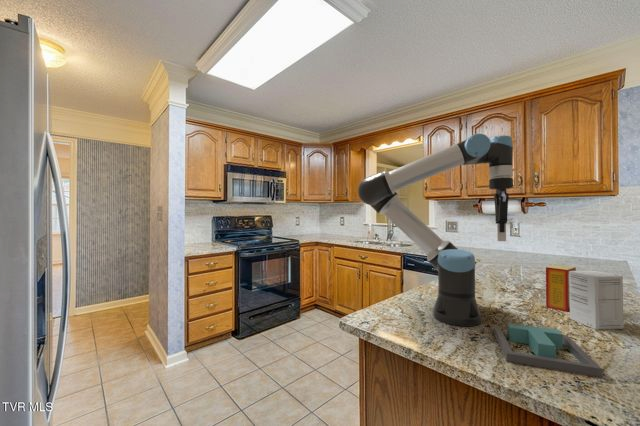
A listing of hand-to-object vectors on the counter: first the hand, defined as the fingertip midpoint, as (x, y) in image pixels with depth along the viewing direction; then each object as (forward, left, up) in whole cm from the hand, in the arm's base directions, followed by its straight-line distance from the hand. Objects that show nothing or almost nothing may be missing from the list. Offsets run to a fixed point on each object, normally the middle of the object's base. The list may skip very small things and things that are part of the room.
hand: (501, 240), depth 105 cm
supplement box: (+26, -2, -27) cm, 37 cm away
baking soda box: (+22, +14, -27) cm, 37 cm away
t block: (+3, -31, -27) cm, 41 cm away
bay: (+3, -31, -26) cm, 41 cm away
